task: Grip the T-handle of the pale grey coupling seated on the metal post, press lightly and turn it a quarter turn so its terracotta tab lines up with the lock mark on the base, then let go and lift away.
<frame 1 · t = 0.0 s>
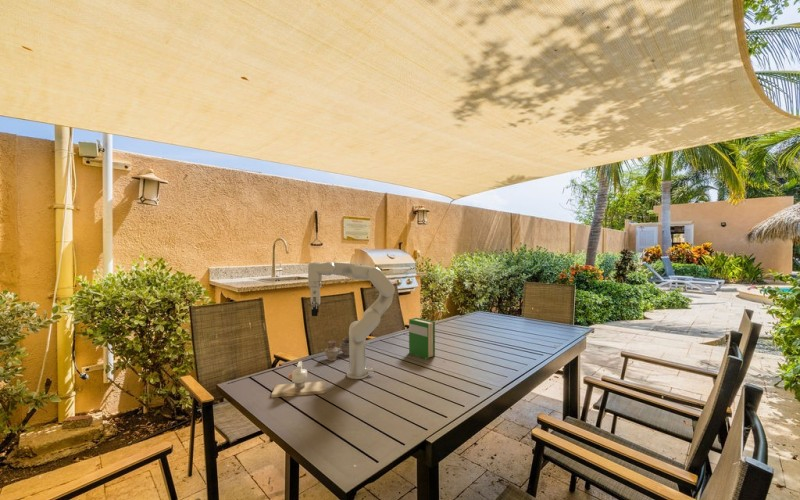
hand: (315, 314, 194), 37 cm above the table, tool pointing down, fingers open, 9 cm apart
post base: (299, 390, 178), on the table
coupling: (298, 372, 178), point 10 cm above the table, hinge at 0.0°
pottery: (340, 356, 232), on the table
hardback book: (421, 355, 236), on the table
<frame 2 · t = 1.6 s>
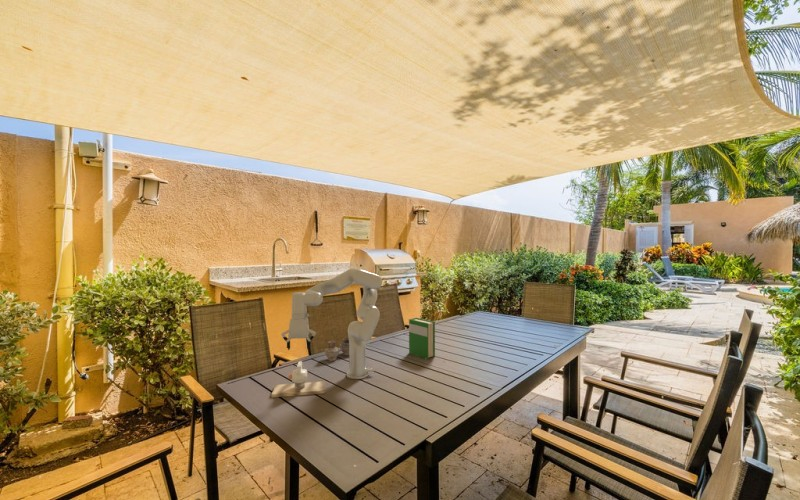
hand: (298, 348, 178), 22 cm above the table, tool pointing down, fingers open, 9 cm apart
nothing on the table moved.
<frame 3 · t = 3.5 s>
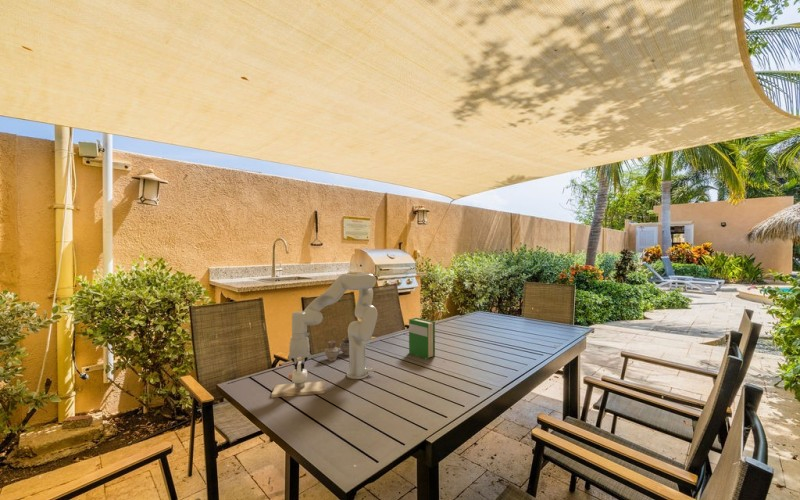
hand: (299, 370, 178), 11 cm above the table, tool pointing down, fingers closed on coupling, 2 cm apart
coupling: (298, 372, 178), point 10 cm above the table, hinge at 0.2°, touching gripper
everything else where it was.
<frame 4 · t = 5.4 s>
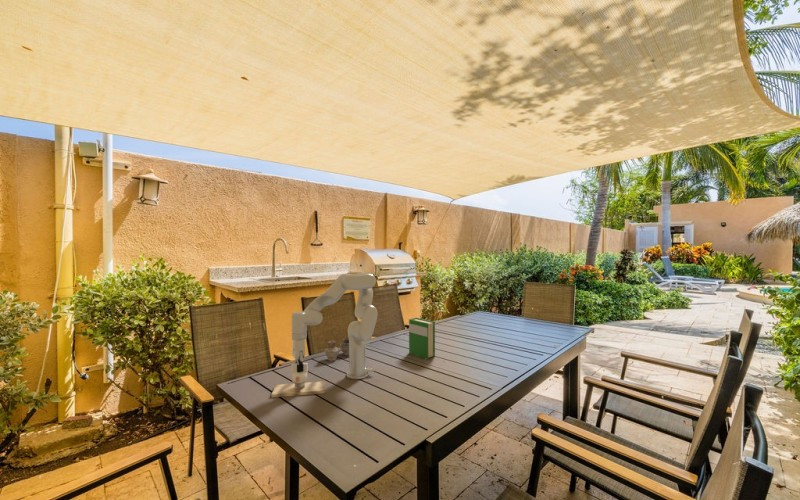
hand: (299, 370, 178), 11 cm above the table, tool pointing down, fingers closed on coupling, 3 cm apart
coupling: (299, 372, 177), point 10 cm above the table, hinge at 83.0°, touching gripper
everything else where it was.
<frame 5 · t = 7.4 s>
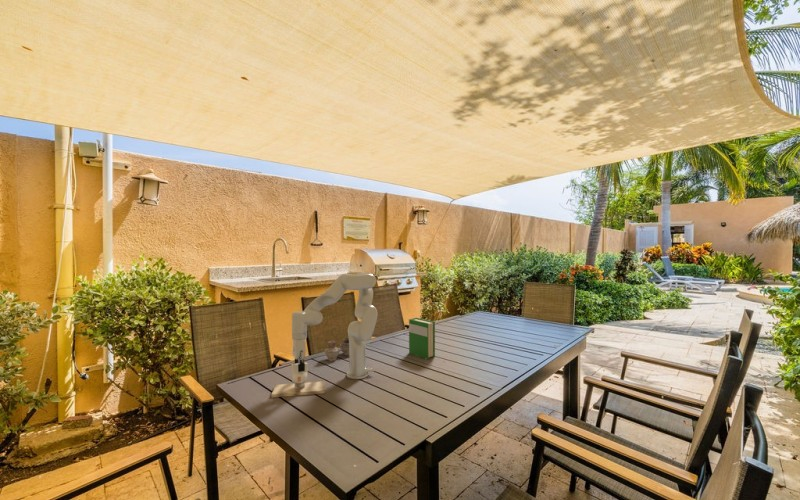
hand: (299, 368, 178), 12 cm above the table, tool pointing down, fingers open, 8 cm apart
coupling: (299, 372, 177), point 10 cm above the table, hinge at 92.6°
everything else where it was.
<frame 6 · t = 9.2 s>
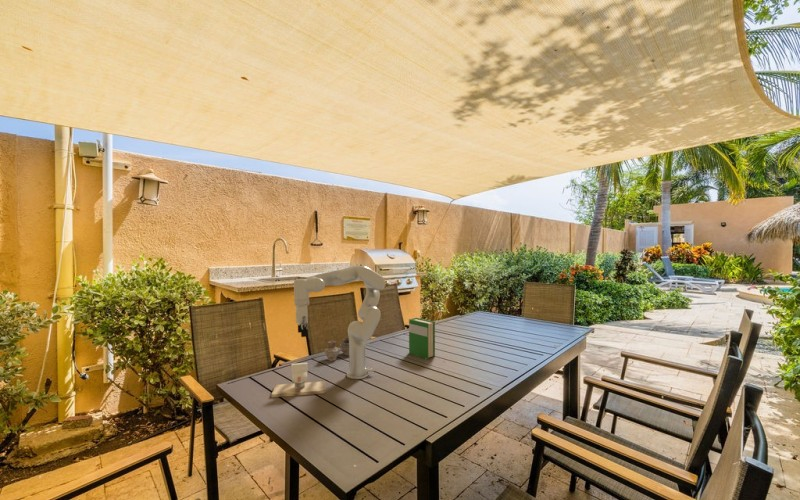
hand: (302, 334, 180), 29 cm above the table, tool pointing down, fingers open, 9 cm apart
nothing on the table moved.
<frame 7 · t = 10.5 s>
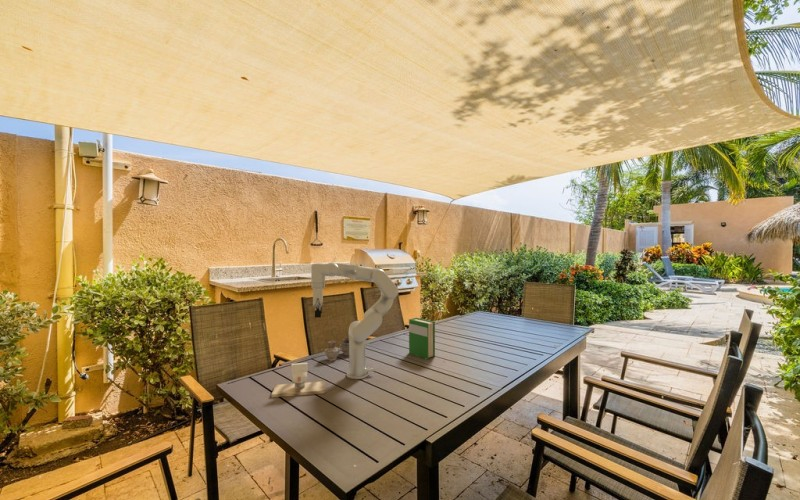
hand: (318, 315, 192), 36 cm above the table, tool pointing down, fingers open, 9 cm apart
nothing on the table moved.
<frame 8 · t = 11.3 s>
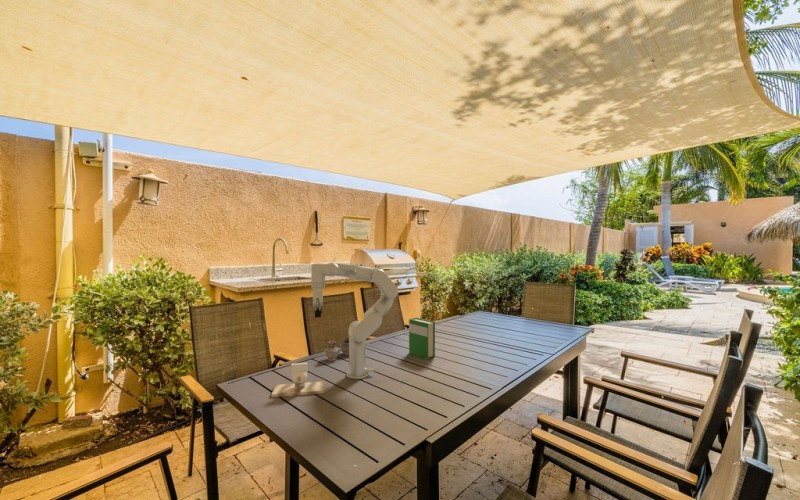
hand: (318, 315, 192), 36 cm above the table, tool pointing down, fingers open, 9 cm apart
nothing on the table moved.
at the end: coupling at +93° (first picture: +0°); the gripper is holding nothing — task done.
